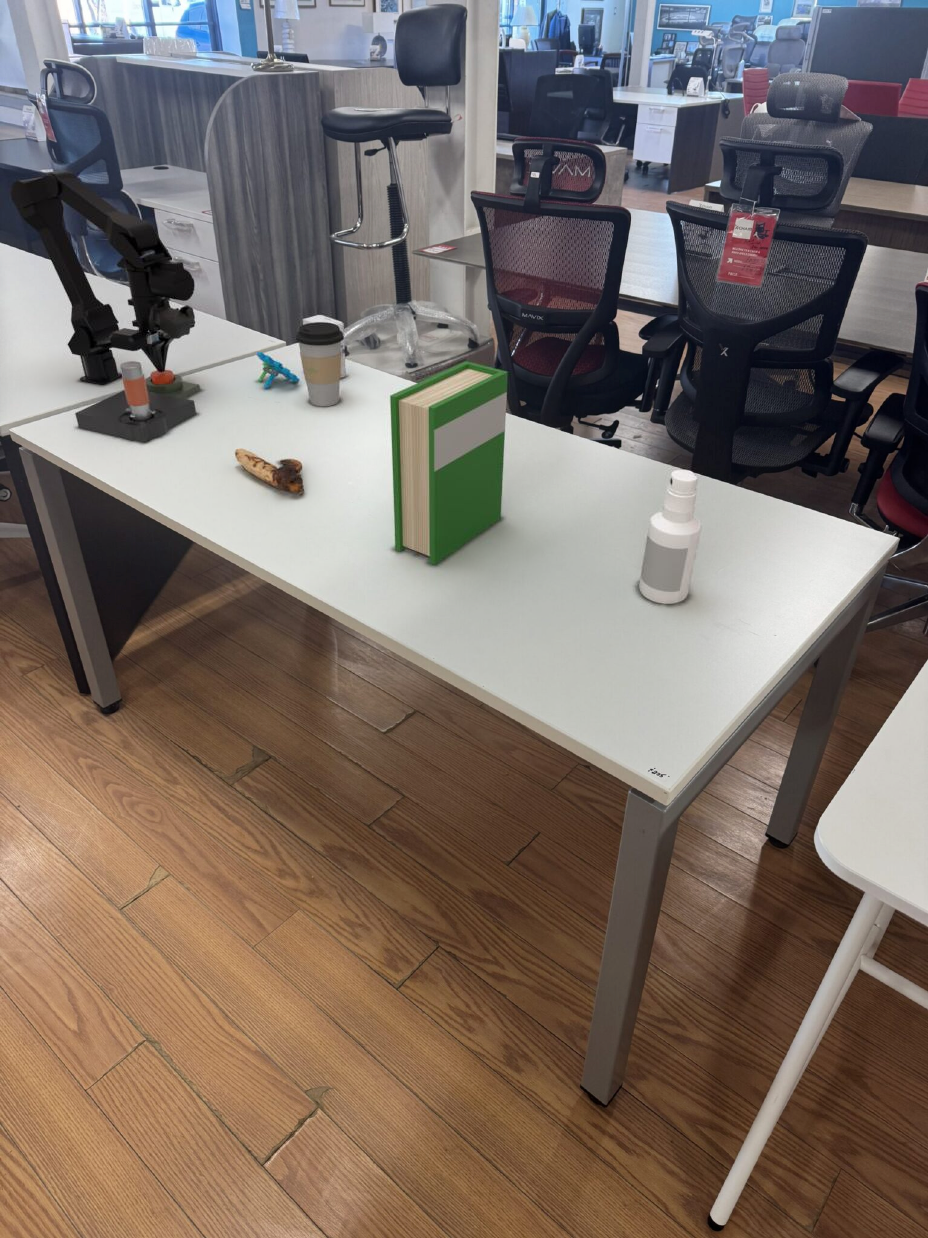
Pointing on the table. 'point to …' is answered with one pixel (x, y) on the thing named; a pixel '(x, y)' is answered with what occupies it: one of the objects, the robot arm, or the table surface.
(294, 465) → the lashed bone hook
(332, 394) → the coffee cup
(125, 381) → the silver-capped orange cylinder
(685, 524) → the spray bottle
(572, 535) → the table surface
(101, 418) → the grinder base
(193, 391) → the button block
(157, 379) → the release button
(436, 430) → the hardback book
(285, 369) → the blue toy gun
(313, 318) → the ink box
